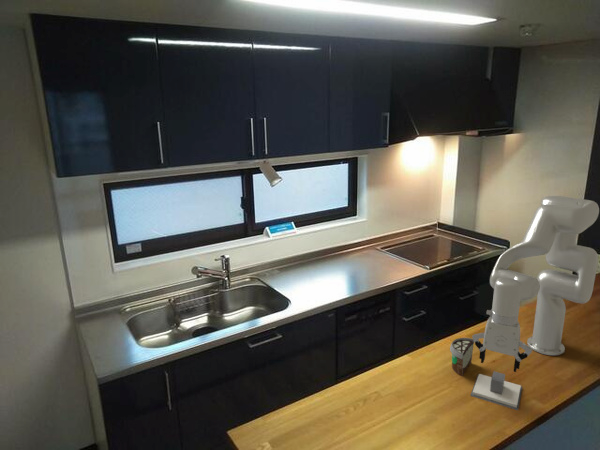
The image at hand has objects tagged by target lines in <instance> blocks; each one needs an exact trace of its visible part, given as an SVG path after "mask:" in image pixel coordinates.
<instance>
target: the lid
mask: <svg viewBox="0 0 600 450" xmlns="http://www.w3.org/2000/svg"><path fill="white" fill-rule="evenodd" d="M477 376H478V375H477ZM475 381H476V380H475ZM474 384H475V383H474ZM473 387H474V386H473ZM521 387H522V385H521V384H517V383H513V382H511V381H510V382H509V381H506V374H505V373H502V372H497V371H494V370H493V373H492V375H491V376H489V375H485V374H482V373H479V376H478V379H477V381H476V384H475V387H474V390H473V389H472V390H473V395H476V396H480V397H483V398H486V399H489V400H493V401H496V402H499V403H502V404H506V405H509V406H512V407H515V408H517V404H518V399H519V393H520V388H521Z"/></svg>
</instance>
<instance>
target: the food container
mask: <svg viewBox="0 0 600 450" xmlns="http://www.w3.org/2000/svg"><path fill="white" fill-rule="evenodd" d="M474 345H475V342H474V340H473V338H472V337H460V338H455V339H454V340H453V341H452V342H451V344H450V346H449V350H450V353H451V367H452V370H453V372H454V373H456V374H457V375H459V376H461V377H463V376H464V374H465V373H466V371H467V369H468V368H469V367H470V365H471V364H472V360H473V351H474Z"/></svg>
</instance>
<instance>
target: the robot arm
mask: <svg viewBox="0 0 600 450" xmlns="http://www.w3.org/2000/svg"><path fill="white" fill-rule="evenodd" d="M599 214H600V208H599V205H598V203H597V202H595V200H589V199H583V198H576V197H575V198H574V197H568V196H561V195H560V196H559V195H548V196H545V197H543V198H542V200H541V202H540V205H539V206H538V207H537V208H536V209H535V211H534V214H533V216H532V218H531V221H530V223H529V225H528V227H527V229H526V231H525V233H524V235H523V239H521V241H520V242H518V243H516V244H514V245H512V246H510V247H509V248H507V249H506V250H505V251H503V252H502V253H501V254H500V256H499V257H498V258H497V260H496V262H495V264H494V266H493V269H492V271H491V273H490V276H489V285H490V286H491V287H492V289H493V297H492V298H493V299H492V305H491V306H492V307H491V309H487V310H486V315H489V317H488V318H487V321H486V324H485V328H484V332H480V333H475V334H473V335H472V336H471V339H473V340H474V345H475V347H477V348H478V351H479V356H478V357H479V358H478V359H480V363H481V364H484V363H485V359H486V352H487V351H486V350H488V351H491V352H495V353H499V354H502V355H507V356H511V357H514V365H513V372H514V373H517V370H520V365H521V361H523V360H525V359H527V358H528V357H529V356H530V355H531V354H532V352H533V351H534V352H537V353H539V354H542V355H545V356H546V355H547V356H560V355H562V354H564V353H565V350H566V349H565V348H566V347H565V346H564V344H563V343H562V336H563V331H564V324H565V323H564V322H565V317H566V310H567V309H566V304H565V301H566V300H567V301H571V302H573V303H577V304H586V303H588V302H589V301H590V300H591V297H592V294H593V290H594V284H595V282H596V281H595V280H596V274H597V269H598V264H599V256H598V252H597V251H596V250H595V249H594V248H592V247H588V246H583V245H578V244H577V243H576V242H577V235H580V234H581V233H583V232H584V231H585V230H587V229H588V228H590V227H591V226H592V225H594V223H595V222H596V221H597V219H598V217H599ZM539 256H545V261H546V263H547V265H549V266H551V267H554V268H558V269H562V270H566V271H570V272H575V274H572V273H569V272H566V271H561V270H557V269H552V268H546V269H543V270H541V271H540V272H539V273H538V274H537V277H535V276H533V275H530V274H525V273H522V272H519V271H514V270H511V269H508V268H509V267H510V266H511V265H512V264H513V263H515V262H517V261H519V260H522V259H526V258H531V257H539ZM536 296H537V297H536ZM534 297H536V307H535V315H534V323H533V332H532V336H530V337H528V338H527V342H526V343H525V342H523V341H522V340H521V326H520V322H519V312H520V304H521V301H525V300H526V301H527V300H531V299H533V298H534ZM564 300H565V301H564ZM479 339H483V342H481V340H479ZM520 348H521V349H522V350H524V351H523V352H520Z"/></svg>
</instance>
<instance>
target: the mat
mask: <svg viewBox="0 0 600 450" xmlns="http://www.w3.org/2000/svg"><path fill="white" fill-rule="evenodd" d="M479 374H480V373H479ZM479 374H477V376H476V378H475V381H474V384H473V386H472V390H471V393H470V397H473V398H477V399H479V400H483V401H486V402H490V403H493V404H497V405H499V406H502V407H505V408H508V409H513V410H516V411H519V408H520V402H521V398H522V393H523V392H522V391H523V386H521V388H520V393H519V399H518V404H517V408H515V407H512V406H509V405H506V404H502V403H499V402H496V401H493V400H489V399H486V398H483V397H480V396H476V395H473V390H474V387H475V384H476V381H477V379H478V376H479Z"/></svg>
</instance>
